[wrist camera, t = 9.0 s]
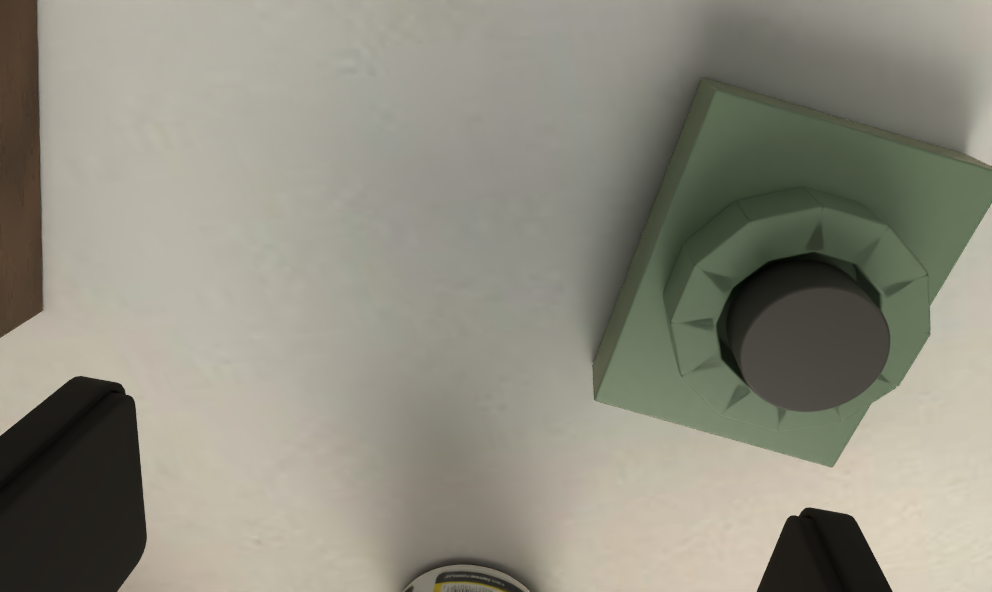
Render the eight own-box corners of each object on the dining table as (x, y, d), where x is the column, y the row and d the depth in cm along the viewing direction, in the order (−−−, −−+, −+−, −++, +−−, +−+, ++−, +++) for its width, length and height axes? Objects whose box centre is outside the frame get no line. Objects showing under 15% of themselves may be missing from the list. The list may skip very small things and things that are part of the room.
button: (758, 242, 18) (775, 268, 17) (890, 280, 18) (920, 309, 17) (705, 357, 20) (716, 391, 18) (827, 392, 20) (849, 428, 18)
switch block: (701, 76, 20) (729, 99, 17) (967, 155, 20) (1052, 194, 17) (591, 366, 24) (594, 434, 21) (812, 428, 25) (853, 507, 21)
